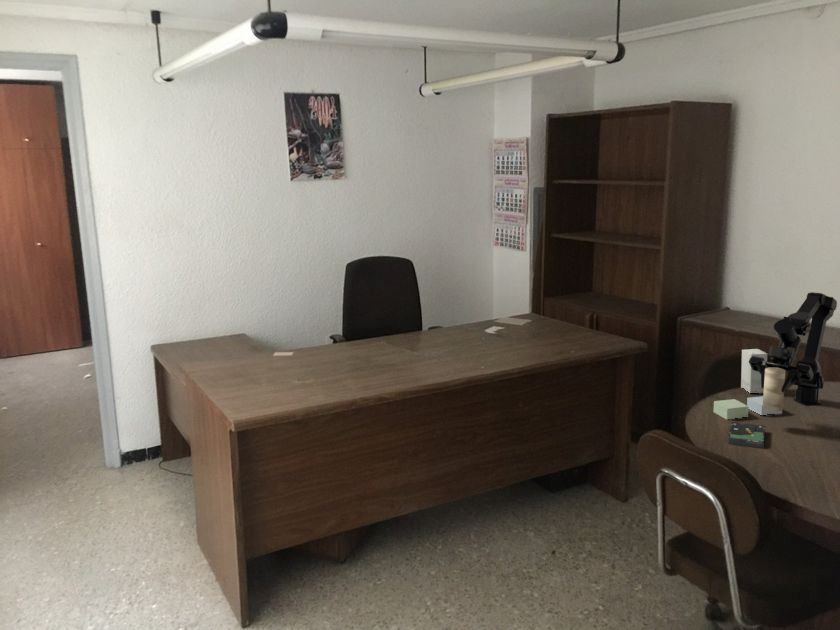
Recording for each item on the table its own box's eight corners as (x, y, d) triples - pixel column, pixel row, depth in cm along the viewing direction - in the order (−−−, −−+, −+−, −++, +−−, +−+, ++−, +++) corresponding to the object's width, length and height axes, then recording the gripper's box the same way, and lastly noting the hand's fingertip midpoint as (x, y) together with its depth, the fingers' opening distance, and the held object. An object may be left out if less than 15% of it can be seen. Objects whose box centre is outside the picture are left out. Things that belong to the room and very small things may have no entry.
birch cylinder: (775, 404, 236) (777, 366, 233) (787, 410, 230) (789, 371, 227) (758, 405, 235) (761, 368, 232) (770, 411, 229) (772, 373, 227)
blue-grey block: (767, 406, 253) (767, 395, 253) (782, 413, 246) (782, 402, 245) (746, 408, 252) (747, 397, 251) (761, 416, 244) (761, 405, 244)
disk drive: (730, 429, 236) (727, 445, 223) (730, 421, 235) (728, 436, 222) (764, 433, 231) (764, 449, 218) (765, 425, 231) (764, 441, 218)
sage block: (734, 409, 251) (734, 399, 251) (748, 417, 244) (748, 406, 243) (713, 412, 250) (713, 401, 249) (726, 419, 242) (727, 408, 242)
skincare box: (766, 393, 267) (768, 353, 263) (748, 394, 267) (751, 354, 264) (756, 386, 275) (758, 348, 272) (739, 387, 275) (741, 348, 272)
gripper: (752, 332, 237) (736, 371, 232) (812, 341, 224) (797, 382, 219) (760, 350, 244) (745, 388, 239) (819, 359, 230) (805, 400, 226)
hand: (772, 389), depth 230 cm, fingers closed on birch cylinder, 6 cm apart
